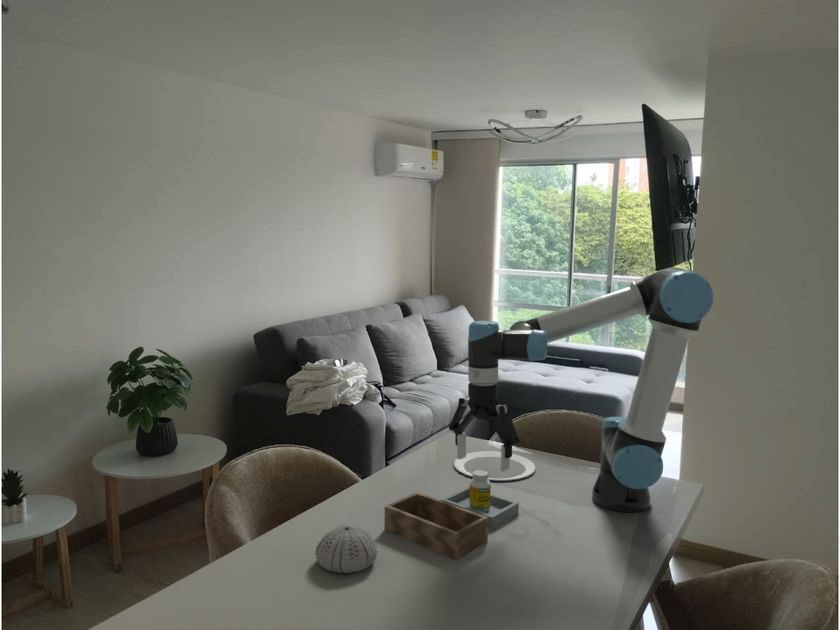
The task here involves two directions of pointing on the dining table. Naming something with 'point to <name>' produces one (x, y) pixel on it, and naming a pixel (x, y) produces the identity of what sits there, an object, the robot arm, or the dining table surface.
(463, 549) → the walnut box
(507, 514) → the slate tray
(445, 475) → the dining table surface
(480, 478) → the supplement bottle
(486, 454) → the white flat ring
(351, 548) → the sea urchin shell
